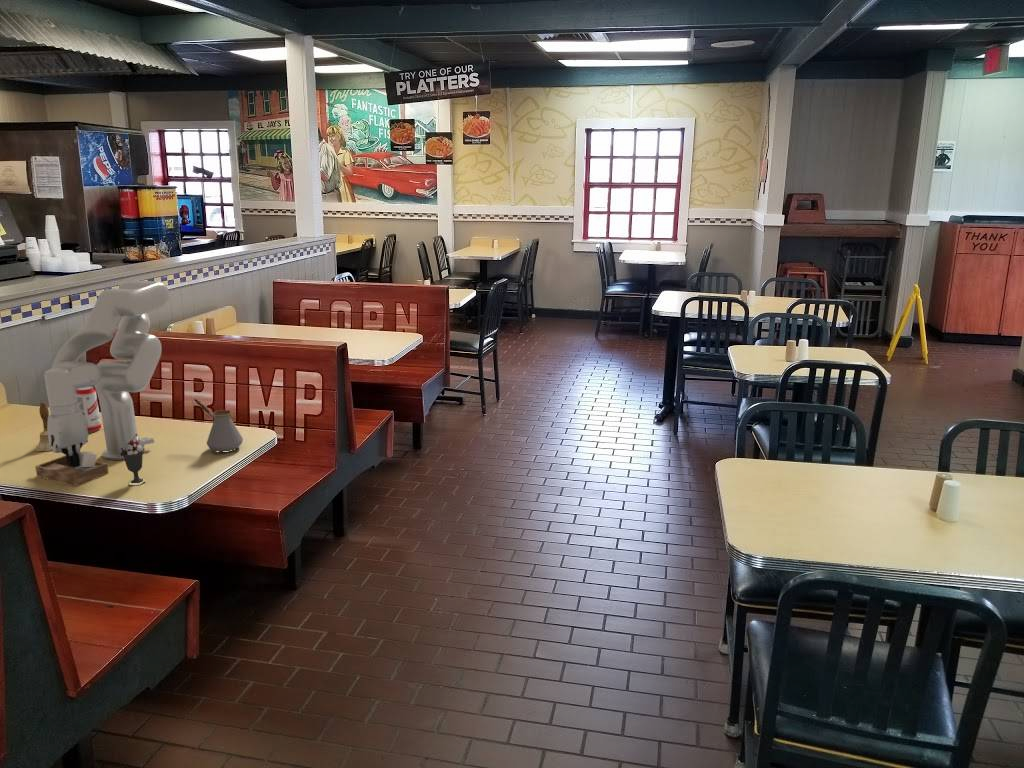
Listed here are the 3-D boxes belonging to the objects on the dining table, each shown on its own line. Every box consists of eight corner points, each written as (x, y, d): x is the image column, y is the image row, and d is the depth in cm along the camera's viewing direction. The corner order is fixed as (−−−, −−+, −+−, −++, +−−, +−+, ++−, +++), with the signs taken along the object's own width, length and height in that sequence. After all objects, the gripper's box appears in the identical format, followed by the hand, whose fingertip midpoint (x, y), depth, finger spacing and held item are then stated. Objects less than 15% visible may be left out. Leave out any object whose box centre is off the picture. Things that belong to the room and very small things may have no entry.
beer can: (78, 432, 274) (70, 389, 270) (92, 426, 280) (85, 384, 276) (92, 433, 273) (85, 390, 268) (105, 428, 278) (99, 386, 274)
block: (74, 464, 236) (76, 451, 236) (86, 464, 240) (89, 451, 240) (82, 467, 234) (84, 454, 234) (94, 466, 238) (96, 454, 238)
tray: (37, 475, 237) (35, 466, 236) (70, 463, 246) (68, 454, 245) (75, 486, 229) (74, 476, 228) (108, 473, 239) (106, 463, 238)
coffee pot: (250, 447, 260) (246, 405, 256) (220, 457, 251) (216, 414, 247) (213, 434, 272) (209, 394, 268) (183, 444, 263) (178, 402, 259)
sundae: (152, 477, 235) (146, 431, 231) (143, 486, 229) (136, 439, 224) (131, 478, 235) (124, 432, 231) (121, 487, 228) (113, 440, 224)
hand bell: (47, 442, 264) (39, 398, 260) (69, 443, 263) (61, 399, 259) (29, 451, 256) (21, 405, 252) (52, 452, 255) (43, 407, 251)
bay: (75, 474, 237) (74, 468, 237) (89, 469, 241) (88, 463, 241) (86, 477, 235) (85, 471, 235) (99, 472, 239) (98, 465, 239)
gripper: (79, 400, 237) (88, 455, 242) (32, 414, 224) (42, 472, 229) (95, 403, 234) (104, 459, 239) (48, 417, 221) (59, 476, 226)
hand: (74, 465), depth 234 cm, fingers closed
